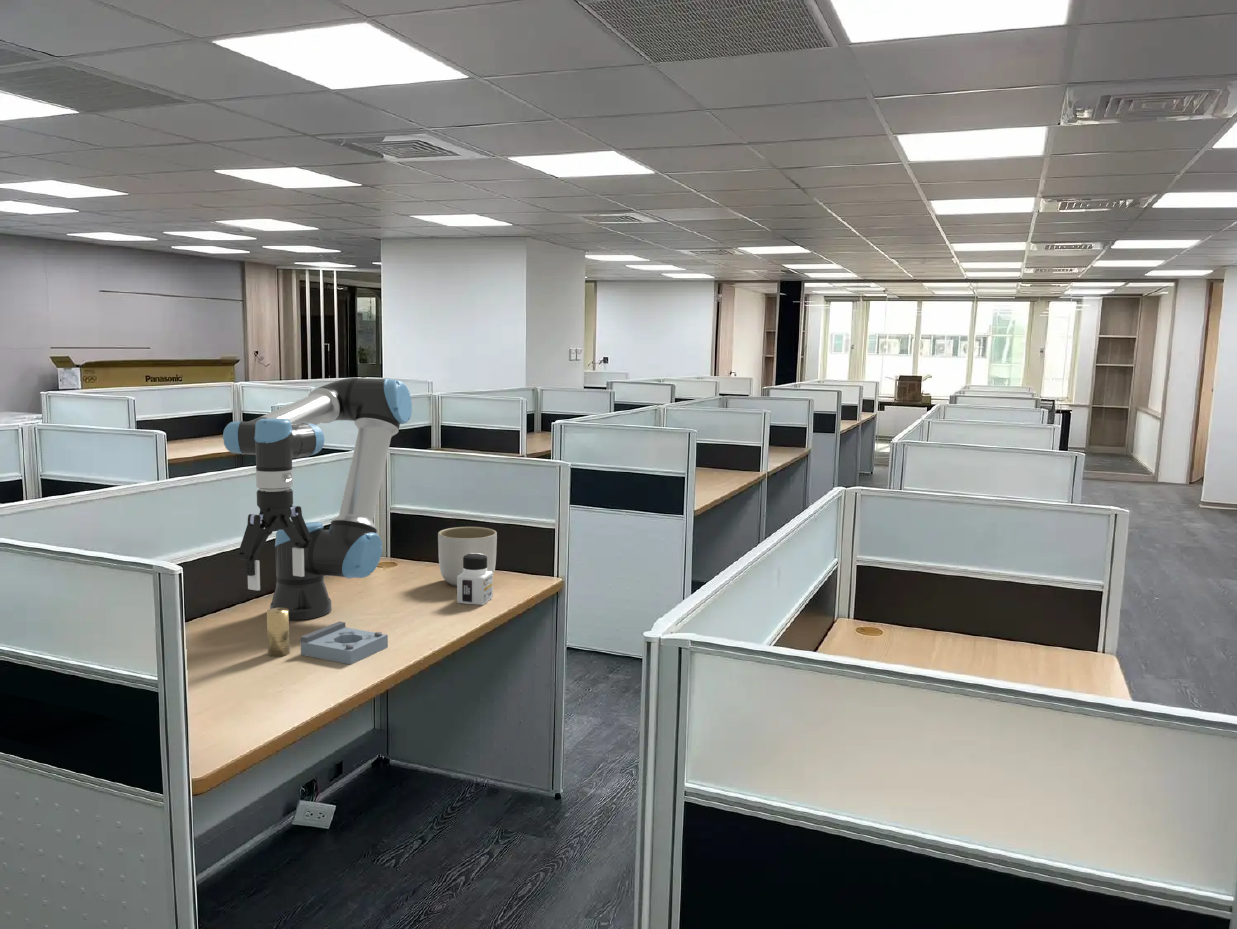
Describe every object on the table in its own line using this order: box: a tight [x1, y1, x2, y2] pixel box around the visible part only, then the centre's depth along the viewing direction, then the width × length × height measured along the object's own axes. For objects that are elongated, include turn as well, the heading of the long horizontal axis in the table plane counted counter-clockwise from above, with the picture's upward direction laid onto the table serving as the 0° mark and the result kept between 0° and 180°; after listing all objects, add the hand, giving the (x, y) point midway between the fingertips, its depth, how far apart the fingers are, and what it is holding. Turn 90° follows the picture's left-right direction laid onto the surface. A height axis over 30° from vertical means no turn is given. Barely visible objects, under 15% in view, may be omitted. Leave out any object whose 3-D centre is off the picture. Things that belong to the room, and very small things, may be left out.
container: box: [456, 553, 494, 606], centre depth 253 cm, size 8×8×13 cm
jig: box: [300, 621, 389, 665], centre depth 211 cm, size 14×13×4 cm
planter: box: [437, 526, 498, 587], centre depth 272 cm, size 17×17×15 cm
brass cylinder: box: [266, 608, 291, 658], centre depth 208 cm, size 5×5×10 cm
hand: (277, 582), depth 206 cm, fingers open, 13 cm apart
